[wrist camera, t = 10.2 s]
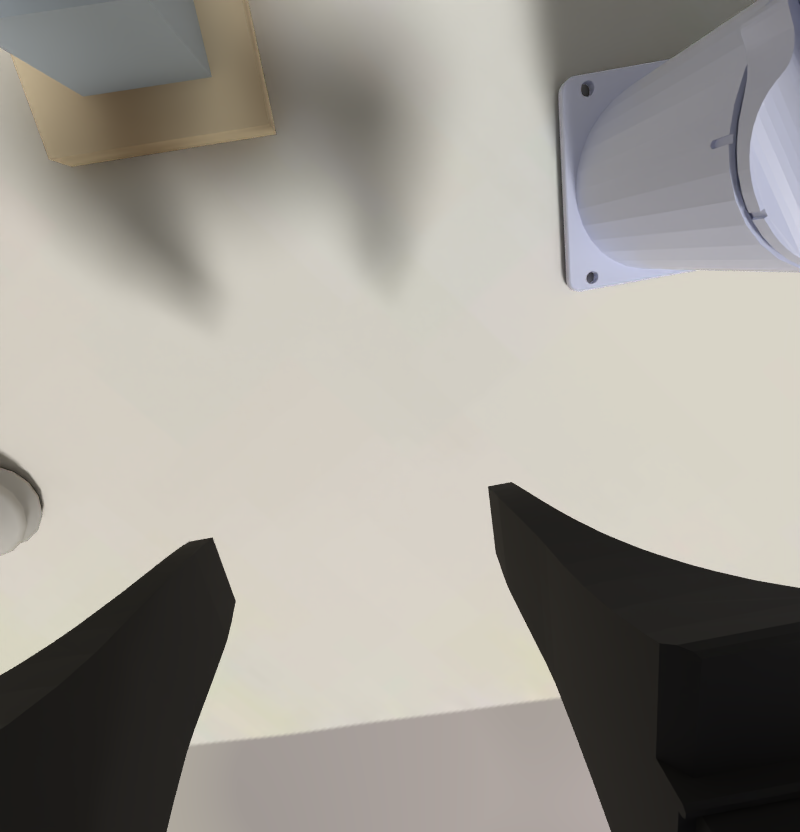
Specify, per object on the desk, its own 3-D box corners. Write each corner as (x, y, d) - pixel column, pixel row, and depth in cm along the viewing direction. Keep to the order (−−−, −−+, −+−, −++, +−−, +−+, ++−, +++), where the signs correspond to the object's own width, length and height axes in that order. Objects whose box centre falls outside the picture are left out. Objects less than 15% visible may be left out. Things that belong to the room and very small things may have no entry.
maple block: (223, -125, 15) (203, -179, 14) (279, 138, 18) (269, 124, 16) (-8, -90, 15) (-61, -140, 13) (82, 170, 18) (48, 159, 16)
